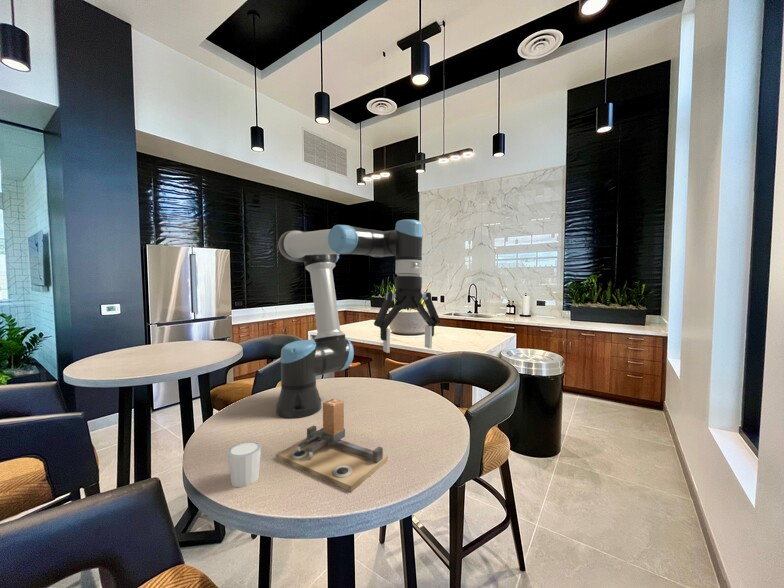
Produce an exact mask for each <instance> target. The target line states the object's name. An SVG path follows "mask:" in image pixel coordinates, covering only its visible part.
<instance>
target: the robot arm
mask: <svg viewBox="0 0 784 588" xmlns="http://www.w3.org/2000/svg"><path fill="white" fill-rule="evenodd" d="M422 224H423V223H421V221H420V220H416V219H401V220H397V221H396V223H395V227H394V229H393V230H392V229H391V230H386V231H385V230H384V231H383V230H378V229H377V230H376V229H369V228H362V227H357V226H351V225H349V224H348V225H347V224H336V225H334V226H333V227H332V228H330V229H319V230H313V231H311V230H310V231H303V230H289V231H286V232H284V233H283V234H281V236H280V238H279V239H278V245H277V247H278V250H279V252H280V254H281V255H282V256H283V257H284V258H285V259H287V260H289V261H292V262H298V263H304V267H305V268H304V269H305V270H306V271H308V272H309V275H310V276H309V277H310V284H311V290H312V299H313V300H312V301H313V306H314V317H315V323H316V330H317V332H316V333H317V334H316V335H315V337H314V338H313V339H303V340H295V341H291V342H289V343H287V344H284V346H282V348H281V351H280V360H279V361H280V382H281V383H280V384H281V385H280V388H281V389H280V392H279V396H278V399H277V403H276V405H275V413H276V415H278V416H279V417H282V418H287V419H288V418H290V419H291V418H293V419H296V418H297V419H298V418H303V417H309V416H311V415H315V414H317V413H318V412H320V411H321V409H322V399H321V397H320V394H319V390H318V387H317V376H322V375H323V376H324V375H326V374H330V373H332V374H333V373H336V372H337V373H338V372H341V371H343V370H346V369H348V368H349V367H350V366H351V364H352V362H353V360H354V354H355V352H354V346H353V343H352V342H351V340H349V339H347V337H346V334H345V333H344V332H343V331H342V330H341V324H340V318H339V317H340V316H339V310H338V303H337V295H336V289H335V282H334V274H333V269H334V268H335V267H336V263H337V262H338V260H339V259H340V255H361V256H362V255H363V256H370V257H373V258H384V257H394V256H395V275H397V276H395V281H394V283H395V284H394V285H395V286H394V287H395V293H392V292H385V293H384V300H383V303H382V305H381V307H380V308H379V312H378V313H377V316H376V318H375V320H374V322H373V326H375V327H378V328H379V329H380V340H381V341H383V343H382V345H383V346H382V351H383V352H385V353H386V354H388V353H389V354H390V352H391V351H390V350H391V346H390V345H391V341H390V340H391V329H390V328H388V327H389V326H390V325H391V323H392V322H393V321H394V319H395V318H396V317H397V315H398V314H399V312H400V311H402V310H403V309H404V310H405V309H407V310H408V309H415V310H417V312H418V313H419V315H420V316H421V318H422V319H423V320H424V321H425V323H426V324H427V325H426V324H425V325H424V347H425V348H427V349H433V337H434V336H435V327H436V326H437V324H440V322H441V318H440V317H439V315H438V312H437V310H436V307H435V305H434V302H433V300H432V293H431V292H430V291H429V292H428V291H427V292H426V291H424V292H422V287H423V279H422V278H423V277H422V276H421V275H422V272H423V271H422V270H423V263H422V262H423V257H422V256H423V255H422V254H423V237H424V236H423V225H422ZM394 300H395V301H396V302H395V303H394V304H393V306H392V302H393V301H394ZM421 300H423V302H424V304H425V306H424V305H423V303H422V302H421ZM390 306H392V308H391V310H389V309H390ZM425 307H426V308H425Z"/></svg>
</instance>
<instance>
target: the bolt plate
mask: <svg viewBox="0 0 784 588" xmlns="http://www.w3.org/2000/svg"><path fill="white" fill-rule="evenodd" d="M316 431H318V430H317V426H316V425H311V426H310V427H309V426H308V428H306V437H305V438H304V439H302V440H300V441H298V442H296V443H294V444H293V445H290V446H289V447H287V448H285V449H284V450H283V449H282V451H279V452H278V453H276V455H275V457H276V460H277V461H280V462H282V463H285V464H287V465H289V466H291V467H293V468H295V469H298V470H300V471H302V472H305V473H308V474H310V475H312V476H314V477H317V478H319V479H321V480H323V481H325V482H328V483H330V484H332V485H335V486H337V487H339V488H341V489H344V490H346V491H348V492H351V493H352V492H353V491H355V490H356V489H357V488H358V487H359V486H360V485H362V483H363V482H365V481H366V480H367V479H368V478H369V477H370V476H372V475H373V474H374V473H375V472H376V471H378V470H379V469H380V468H381V467H382V466H383V465H385V464H386V463H387V462H388V461H389V456H388V455H387V454H385V453H384V452H383V450H384V449H383V447H381V446H377V447H376V448H375V449H373V450H372V449H369V448H367V447H364V446H360V445H357V444H356V443H351V442H349V441H346V440H342V439H340V440H339V441H337V442H335V443H334V444H333V443H330V442H329V443H327V444H326V445H324V446H322V447H321V448H319V449H317V450H316V451H314V452H313V458H309V447H311V446H312V445H314V444H316V443H317V442H319V441H321V440H316V441H315V442H313V443H311V444H309V445H307V446H306V447H304V448H302V449H301V453H300V454H298V444H300V443H302V442H303V441H305V440H307V439H309V438H311V434H312V433H314V432H316Z"/></svg>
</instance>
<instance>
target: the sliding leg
mask: <svg viewBox="0 0 784 588" xmlns="http://www.w3.org/2000/svg"><path fill="white" fill-rule="evenodd" d="M344 405H345V403H344V401H343V400H339V399H336V398H332V399H329V400H327V401H324V402H322V428H323V432H322V440H321V441H319V442H317V443H316V444H314V445H312V446H311V447H309V458H313V452H314V451H316V450H317V449H319V448H321V447H322V446H324V445H326V444H327V443H329V442H330V443H333V444H334V443H335V442H337V441H339V440H342V439H344V438H345V437H346V430H345V419H344V418H345V408H344Z"/></svg>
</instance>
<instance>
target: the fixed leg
mask: <svg viewBox="0 0 784 588" xmlns="http://www.w3.org/2000/svg"><path fill="white" fill-rule="evenodd" d="M322 432H323V427H321V428H320V429H318V430H317V431H316V432H314V433H312V434H311V438H309V439H307V440H305V441H303V442H302V443H300V444H298V454H300V453H301V449H302V448H304V447H306V446H307V445H309V444H311V443H313V442H315V441H316V440H322Z"/></svg>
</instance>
